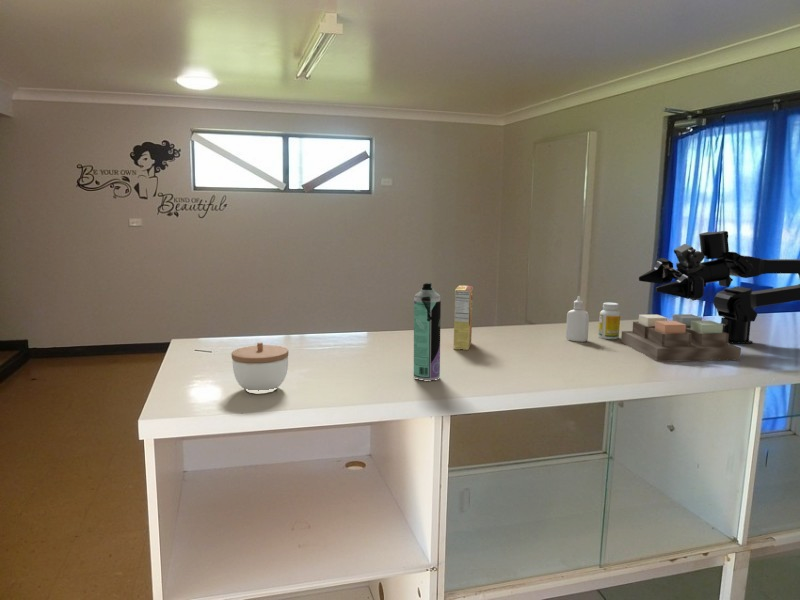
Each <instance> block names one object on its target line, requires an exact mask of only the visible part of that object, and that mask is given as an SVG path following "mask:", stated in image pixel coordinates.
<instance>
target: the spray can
mask: <svg viewBox="0 0 800 600" xmlns="http://www.w3.org/2000/svg"><path fill="white" fill-rule="evenodd" d="M432 286H433V285H432V283H431V282H426V283H422V287H421V289H420V291H418V292H417V293H416V294H414V298H413V378H414V377H415V378H418V379H423V380H435V379H438V378H439V377H440V376H441V374H440V373H441V314H442V313H441V312H442V311H441V306H442V305H441V304H442V303H441V294H439V293H438V292H436V291H435V289H434V288H433V287H432ZM440 378H441V377H440ZM440 378H439V379H440Z"/></svg>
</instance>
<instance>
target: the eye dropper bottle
mask: <svg viewBox="0 0 800 600" xmlns="http://www.w3.org/2000/svg"><path fill="white" fill-rule="evenodd" d="M589 322H590V316H589V312H588V311H586V310H584V301H583V300H582V299H581V296H579V295H577V298H576V300H574V301H573V309H571V310H569V311H567V314H566V328H565V339H566V340H568V341H572V342H577V343H579V342H580V343H583V342H587V341H588V340H589Z"/></svg>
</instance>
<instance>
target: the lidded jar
mask: <svg viewBox="0 0 800 600" xmlns="http://www.w3.org/2000/svg"><path fill="white" fill-rule="evenodd" d="M231 360H232V370H233V371H232V372H233V374H234V377H235V380H236V382H237V384H238V385H239V386H240V387H241V388H242V389H243V388H244V390H245V389H248V390H258V391H259V390H269V389H274V388H277V387H278V388H279V387H280V386H281V385H282V384H283V383H284V381H285V379H286V377H287V374H288V369H289V368H288V367H289V350H288V348H286V347H284V346H281V345H271V344H269V345H268V344H263V342H260V341H259V342H257V343H256V345H250V346H243V347H239V348H237V349H235V350H233V351H232V352H231ZM278 388H277V389H278Z"/></svg>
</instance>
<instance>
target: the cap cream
mask: <svg viewBox="0 0 800 600" xmlns="http://www.w3.org/2000/svg"><path fill="white" fill-rule="evenodd" d="M638 321H639V323H640V324H642V325H645V326H655V321H668V317H665V316H663V315H660V314H638Z"/></svg>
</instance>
